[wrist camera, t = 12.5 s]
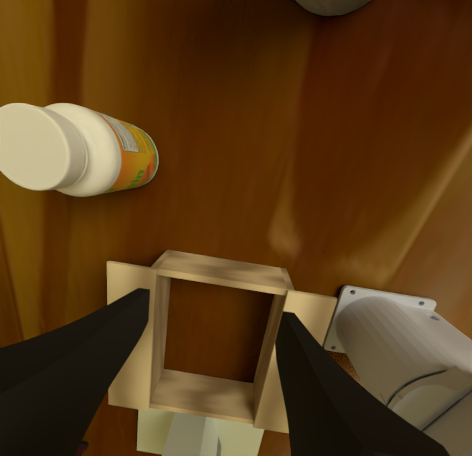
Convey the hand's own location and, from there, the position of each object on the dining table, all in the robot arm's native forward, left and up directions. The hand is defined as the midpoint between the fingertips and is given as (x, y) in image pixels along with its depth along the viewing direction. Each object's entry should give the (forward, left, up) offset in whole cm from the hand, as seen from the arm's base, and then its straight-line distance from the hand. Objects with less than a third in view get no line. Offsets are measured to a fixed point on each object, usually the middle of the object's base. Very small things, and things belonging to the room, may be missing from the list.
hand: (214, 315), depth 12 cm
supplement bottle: (+10, -7, -11) cm, 16 cm away
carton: (0, +10, -10) cm, 14 cm away
